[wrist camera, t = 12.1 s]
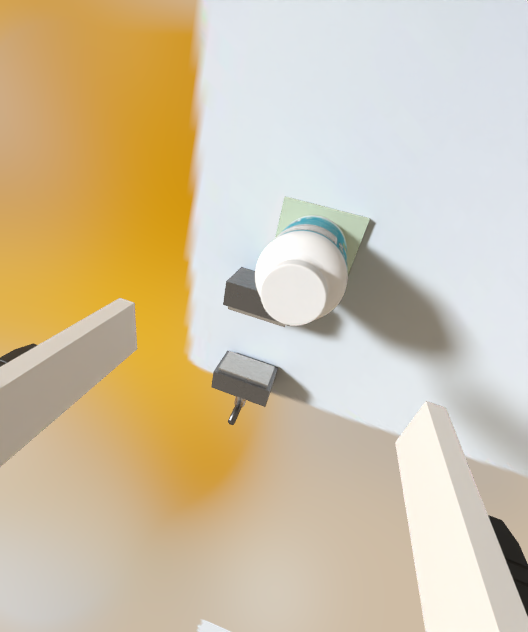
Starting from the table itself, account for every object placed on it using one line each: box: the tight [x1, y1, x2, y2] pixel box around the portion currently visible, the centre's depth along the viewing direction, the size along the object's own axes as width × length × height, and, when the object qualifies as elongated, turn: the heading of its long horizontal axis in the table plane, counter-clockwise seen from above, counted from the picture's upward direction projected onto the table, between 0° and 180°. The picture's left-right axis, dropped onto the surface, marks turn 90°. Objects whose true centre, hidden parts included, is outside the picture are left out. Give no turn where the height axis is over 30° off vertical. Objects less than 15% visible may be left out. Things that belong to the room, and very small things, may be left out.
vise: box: [212, 267, 290, 425], centre depth 37 cm, size 21×8×7 cm, turn 167°
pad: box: [275, 197, 370, 274], centre depth 31 cm, size 9×9×1 cm
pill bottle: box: [255, 215, 348, 326], centre depth 25 cm, size 8×7×14 cm
